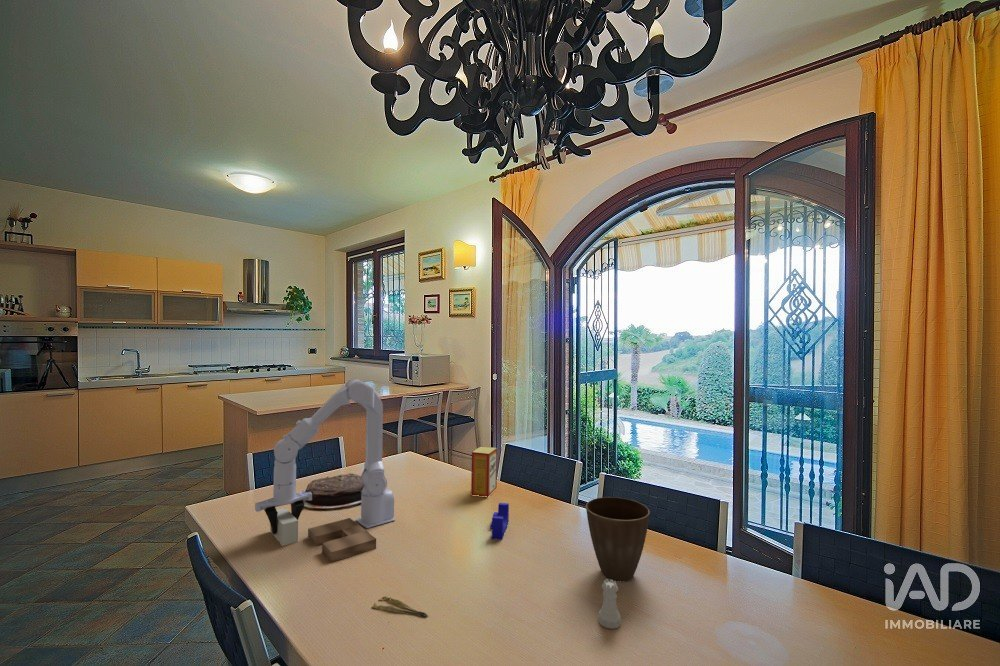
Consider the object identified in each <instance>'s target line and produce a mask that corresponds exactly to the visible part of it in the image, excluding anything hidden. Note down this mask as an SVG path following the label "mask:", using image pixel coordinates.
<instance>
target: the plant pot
mask: <svg viewBox="0 0 1000 666" xmlns="http://www.w3.org/2000/svg"><path fill="white" fill-rule="evenodd" d="M585 509H586V517H587V524H588V528H589V533H590V538H591V542H592V546H593V550H594V553H595V556H596V560H597V563H598V566H599V569H600V571H601V574H602V576H604V578H606V579H608V580H610V579H611V580H613V582H614V581H615V582H617V581H619V582H618V583H624V582H623V581H626V582H629V581H631V580H632V579H634V576H635V573H636V570H637V569H638V565H639V562H640V560H641V556H642V553H643V550H644V547H645V546H644V545H645V542H646V538H647V532H648V528H649V527H648V526H649V520H650V512H651V511H650V509H649V508H648V506H646V505H645V504H643V503H641V502H639V501H636V500H633V499H630V498H624V497H614V496H613V497H612V496H603V497H598V498H597V497H596V498H593V499H591V500H589V501H587V502H586V504H585ZM620 581H621V582H620Z"/></svg>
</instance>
